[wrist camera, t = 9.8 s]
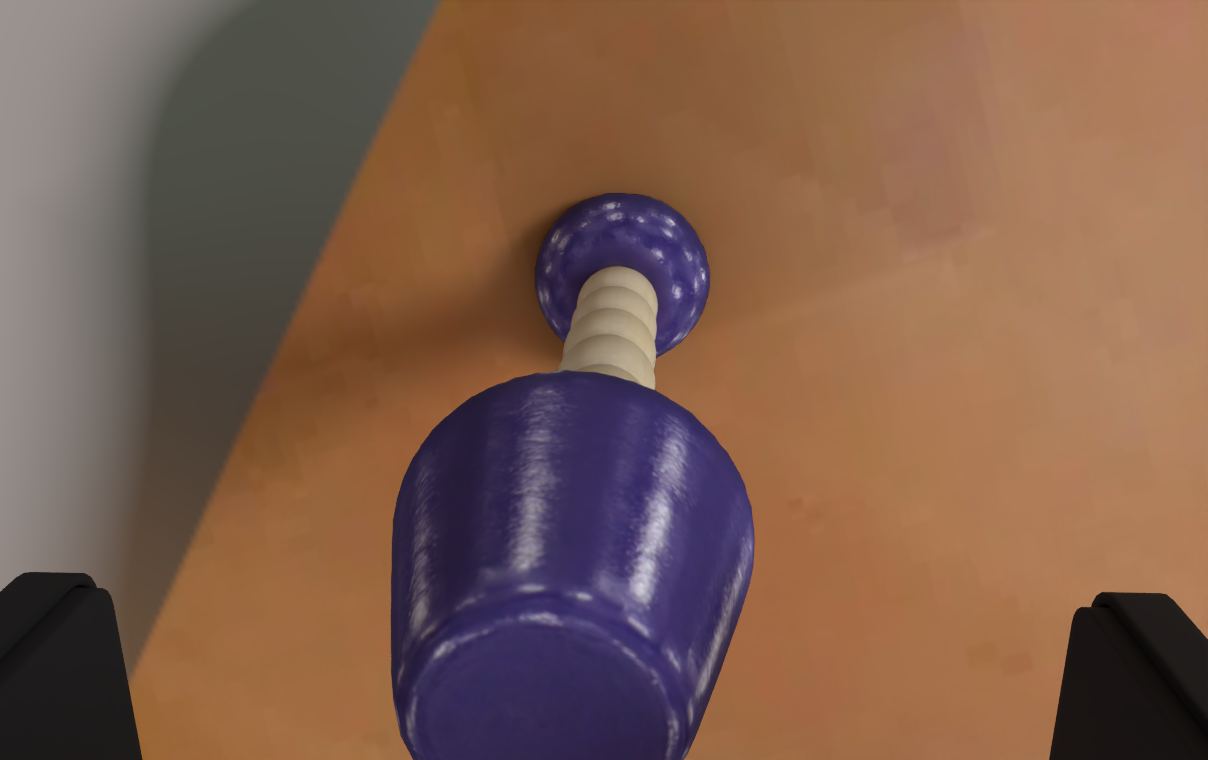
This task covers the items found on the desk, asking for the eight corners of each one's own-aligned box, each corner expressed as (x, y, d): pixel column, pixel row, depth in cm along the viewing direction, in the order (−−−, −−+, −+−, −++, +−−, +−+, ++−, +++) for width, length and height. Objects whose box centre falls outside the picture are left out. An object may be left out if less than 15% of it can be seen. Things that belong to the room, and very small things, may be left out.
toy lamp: (644, 406, 27) (645, 976, 11) (481, 321, 26) (237, 798, 11) (741, 244, 25) (900, 638, 10) (570, 150, 25) (441, 408, 9)
